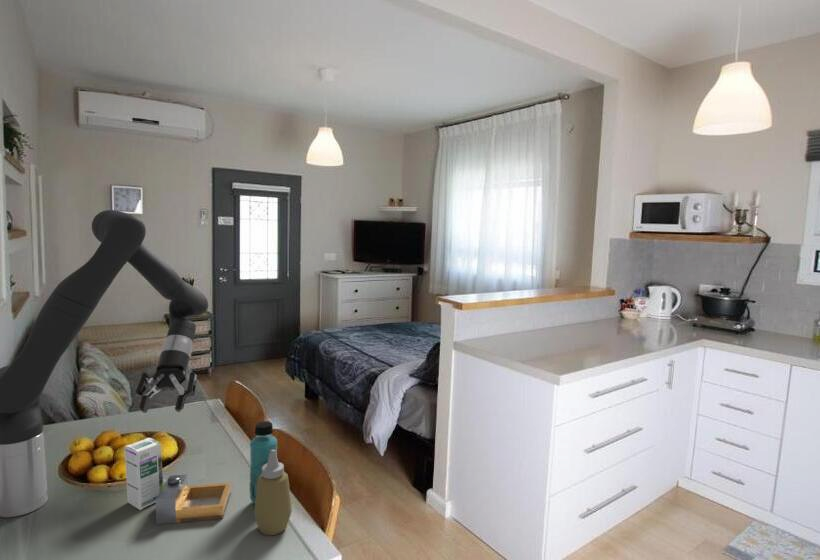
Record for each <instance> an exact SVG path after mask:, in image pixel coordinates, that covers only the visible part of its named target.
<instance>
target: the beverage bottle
mask: <svg viewBox="0 0 820 560" xmlns="http://www.w3.org/2000/svg"><path fill="white" fill-rule="evenodd" d="M254 427H255V429H254V434H255V435H256V436H255V437H253V439H251V441H250V443H249V446H250V453H249V454H250V464H249V465H250V469H249V476H250V477H249V480H250V481H249V498H250V501H251V503H253V504H255V501H256V491H257V481H258V478H259V476H260V475H262V467H263V465H265V464H266V463H268V458H269V454H270V450H276V454H277V455H278V438H276V436H274V435H272V434H273V432H274V428H273V422H271V421H266V420H265V421H259V422H257V423H256V424H255V426H254ZM277 458H278V456H277Z"/></svg>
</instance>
